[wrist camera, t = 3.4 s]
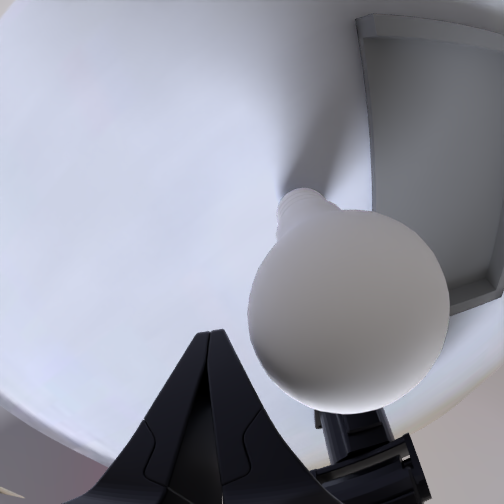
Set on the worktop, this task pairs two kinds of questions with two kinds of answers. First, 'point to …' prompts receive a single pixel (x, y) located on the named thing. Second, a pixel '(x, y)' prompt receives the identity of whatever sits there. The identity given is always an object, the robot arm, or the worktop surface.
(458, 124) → the tray
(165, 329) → the worktop surface
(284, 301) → the lightbulb
